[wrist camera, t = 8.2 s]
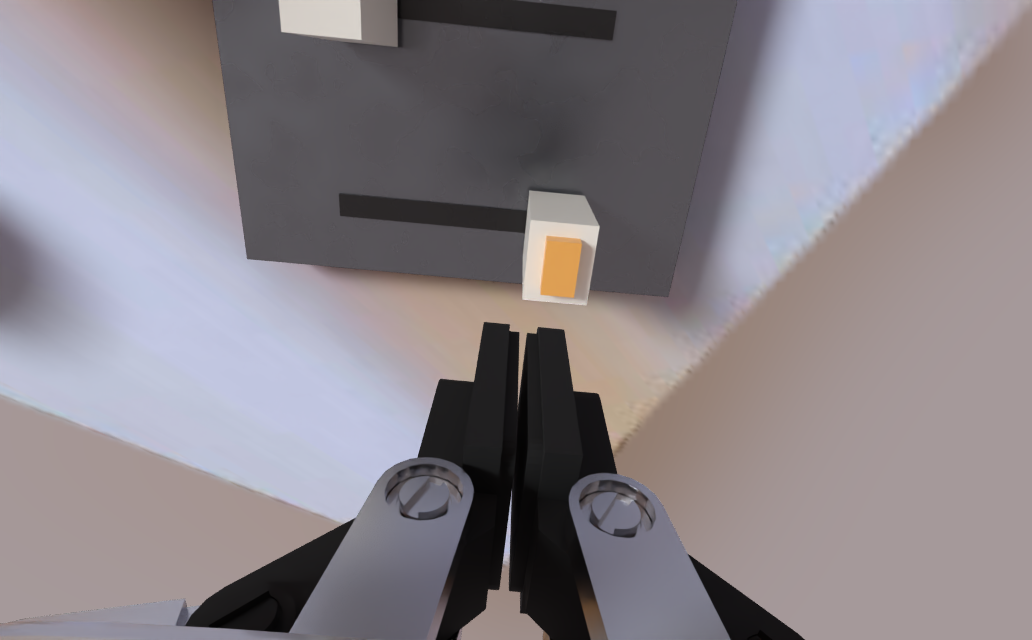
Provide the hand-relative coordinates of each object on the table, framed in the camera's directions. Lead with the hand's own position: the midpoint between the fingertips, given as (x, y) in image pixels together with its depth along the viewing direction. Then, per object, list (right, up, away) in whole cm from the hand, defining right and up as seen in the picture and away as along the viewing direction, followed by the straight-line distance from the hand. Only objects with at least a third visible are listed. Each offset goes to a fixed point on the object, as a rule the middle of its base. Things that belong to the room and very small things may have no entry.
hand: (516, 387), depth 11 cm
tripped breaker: (+2, +6, +12) cm, 14 cm away
